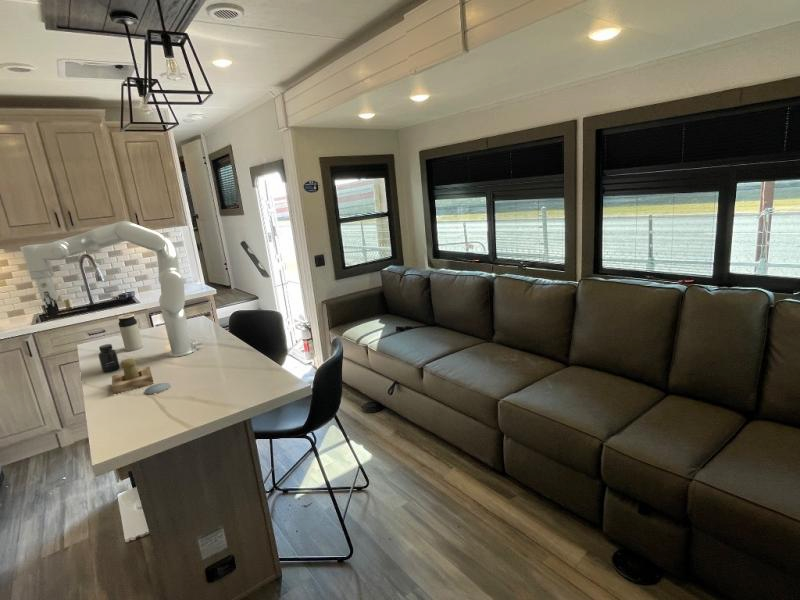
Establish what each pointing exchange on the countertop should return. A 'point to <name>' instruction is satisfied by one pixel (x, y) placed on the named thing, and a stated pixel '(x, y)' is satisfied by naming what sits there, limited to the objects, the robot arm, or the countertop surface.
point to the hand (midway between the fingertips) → (54, 313)
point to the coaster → (157, 388)
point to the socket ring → (132, 381)
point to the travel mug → (130, 332)
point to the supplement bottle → (108, 358)
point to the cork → (129, 369)
